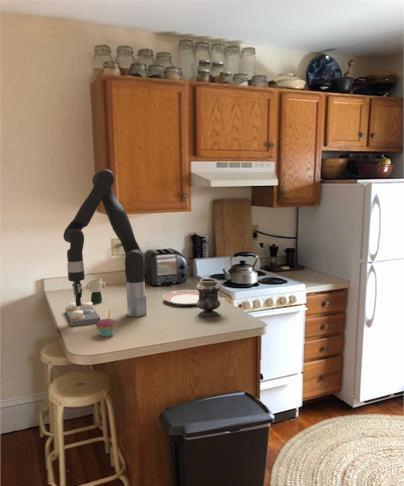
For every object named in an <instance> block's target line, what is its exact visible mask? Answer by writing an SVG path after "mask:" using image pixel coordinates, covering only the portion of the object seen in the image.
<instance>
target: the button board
mask: <svg viewBox="0 0 404 486" xmlns="http://www.w3.org/2000/svg"><path fill="white" fill-rule="evenodd" d="M76 310H82V311H83V317H81V318H73V311H76ZM65 313H66V314H65V315H66V316H67V318H68V320H69V322H70V325H71V326H72V327H73V328H74V327H79V326H80V327H81V326H88V325H94V324H95V325H96V324H97V322H99V321H100V320H101V317H100V315H99V314H98V312H97V311H96V310H95V308H94V307H93V308H91V309H83V304H81V306H78V309H69V306H67V307H65Z"/></svg>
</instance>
